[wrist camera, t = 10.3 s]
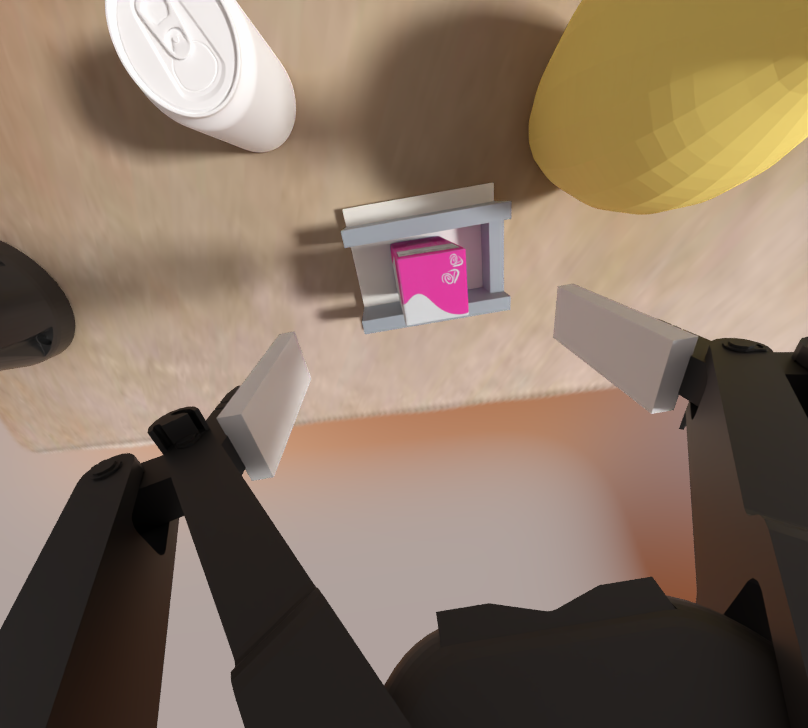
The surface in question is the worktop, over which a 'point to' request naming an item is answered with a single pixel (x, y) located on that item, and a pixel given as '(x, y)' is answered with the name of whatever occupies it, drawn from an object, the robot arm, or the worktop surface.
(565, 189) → the vase
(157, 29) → the beverage can
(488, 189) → the slot cradle
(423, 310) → the supplement box
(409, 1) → the worktop surface
